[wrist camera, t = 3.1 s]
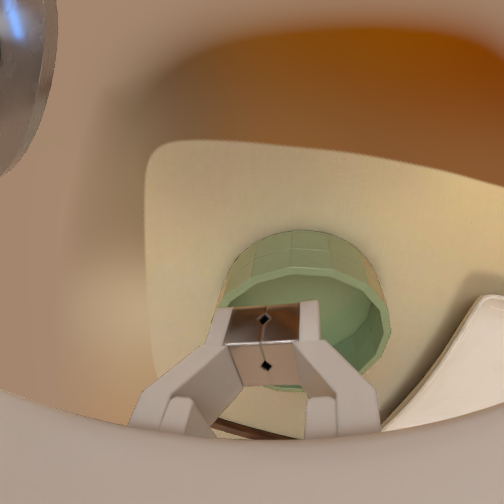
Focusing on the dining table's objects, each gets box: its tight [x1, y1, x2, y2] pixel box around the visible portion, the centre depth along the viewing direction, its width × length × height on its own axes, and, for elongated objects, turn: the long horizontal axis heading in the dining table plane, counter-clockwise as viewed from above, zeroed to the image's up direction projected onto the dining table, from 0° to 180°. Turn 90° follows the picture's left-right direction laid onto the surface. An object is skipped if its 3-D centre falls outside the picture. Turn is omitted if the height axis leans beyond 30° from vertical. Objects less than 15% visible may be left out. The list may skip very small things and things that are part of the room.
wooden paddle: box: [210, 418, 298, 440], centre depth 40 cm, size 22×6×1 cm, turn 68°
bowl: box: [211, 231, 391, 392], centre depth 24 cm, size 13×13×5 cm
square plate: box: [381, 294, 504, 432], centre depth 28 cm, size 27×27×4 cm
